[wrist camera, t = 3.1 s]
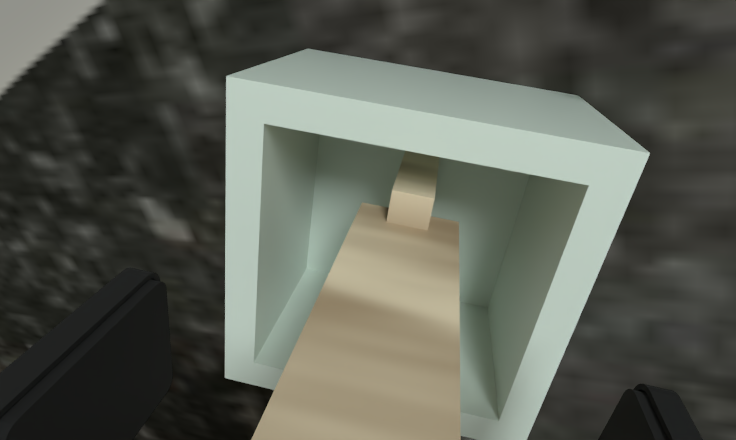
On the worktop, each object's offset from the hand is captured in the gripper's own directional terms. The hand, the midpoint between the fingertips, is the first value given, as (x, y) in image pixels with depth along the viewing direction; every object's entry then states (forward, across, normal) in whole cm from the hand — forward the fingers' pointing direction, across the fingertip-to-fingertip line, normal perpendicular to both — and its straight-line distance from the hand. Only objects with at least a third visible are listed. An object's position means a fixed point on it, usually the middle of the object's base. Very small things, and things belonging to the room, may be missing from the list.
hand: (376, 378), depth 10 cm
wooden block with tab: (+10, 0, 0) cm, 10 cm away
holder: (+11, 0, 0) cm, 11 cm away
